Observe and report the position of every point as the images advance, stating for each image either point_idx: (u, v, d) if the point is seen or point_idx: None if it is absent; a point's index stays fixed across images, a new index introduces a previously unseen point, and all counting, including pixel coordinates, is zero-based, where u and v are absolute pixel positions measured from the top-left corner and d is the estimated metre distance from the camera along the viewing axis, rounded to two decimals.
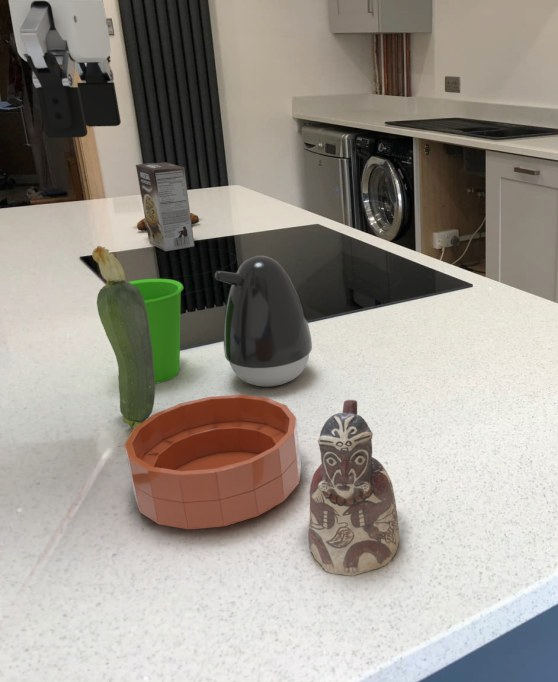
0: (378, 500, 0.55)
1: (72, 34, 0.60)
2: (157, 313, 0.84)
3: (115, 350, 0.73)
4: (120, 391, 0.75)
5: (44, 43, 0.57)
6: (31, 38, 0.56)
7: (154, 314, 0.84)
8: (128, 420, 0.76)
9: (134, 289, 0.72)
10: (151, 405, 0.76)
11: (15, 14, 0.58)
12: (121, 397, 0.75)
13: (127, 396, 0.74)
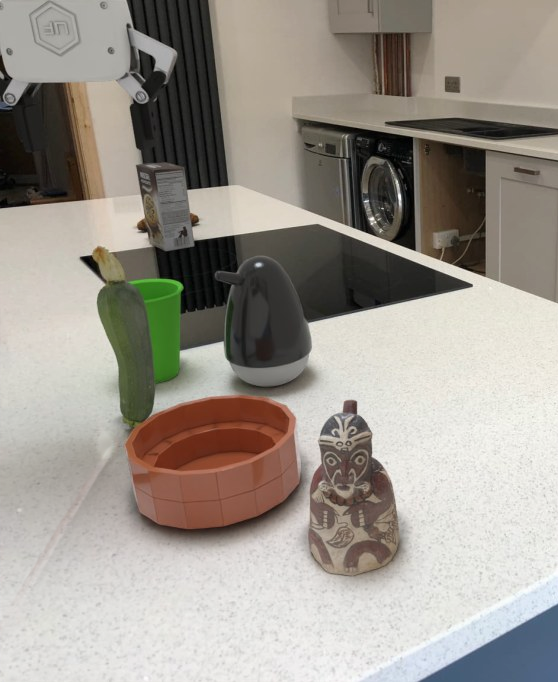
0: (378, 500, 0.55)
1: None
2: (157, 313, 0.84)
3: (115, 350, 0.73)
4: (120, 391, 0.75)
5: None
6: (175, 57, 0.65)
7: (154, 314, 0.84)
8: (128, 420, 0.76)
9: (134, 289, 0.72)
10: (151, 405, 0.76)
11: (121, 35, 0.62)
12: (121, 397, 0.75)
13: (127, 396, 0.74)
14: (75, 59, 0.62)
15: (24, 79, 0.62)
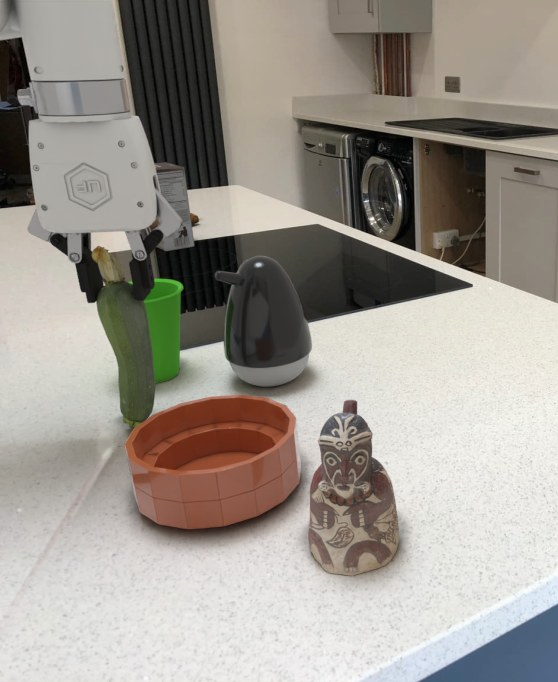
0: (378, 500, 0.55)
1: None
2: (157, 313, 0.84)
3: (115, 350, 0.73)
4: (120, 391, 0.75)
5: None
6: (179, 227, 0.70)
7: (154, 314, 0.84)
8: (128, 420, 0.76)
9: None
10: (151, 405, 0.76)
11: (149, 190, 0.67)
12: (121, 397, 0.75)
13: (127, 396, 0.74)
14: (106, 213, 0.66)
15: (58, 231, 0.67)
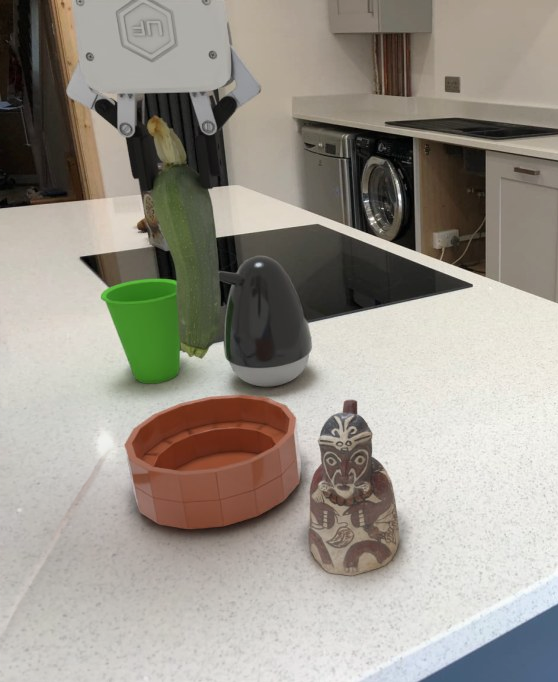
0: (378, 500, 0.55)
1: None
2: (157, 313, 0.84)
3: (174, 254, 0.58)
4: (179, 309, 0.60)
5: None
6: (257, 94, 0.56)
7: (154, 314, 0.84)
8: (189, 346, 0.61)
9: (198, 175, 0.57)
10: (216, 328, 0.61)
11: (224, 36, 0.52)
12: (180, 317, 0.60)
13: (188, 314, 0.60)
14: (169, 65, 0.51)
15: (106, 90, 0.52)
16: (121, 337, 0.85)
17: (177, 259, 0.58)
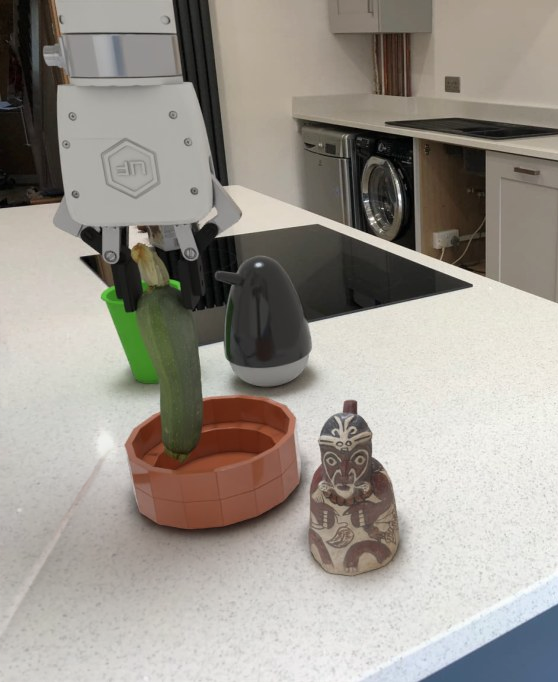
0: (378, 500, 0.55)
1: None
2: None
3: (157, 369, 0.60)
4: (162, 418, 0.62)
5: None
6: None
7: None
8: (171, 452, 0.63)
9: (181, 295, 0.59)
10: (199, 434, 0.64)
11: (205, 173, 0.54)
12: (163, 425, 0.62)
13: (171, 424, 0.62)
14: (152, 201, 0.53)
15: (91, 224, 0.54)
16: (121, 337, 0.85)
17: (160, 373, 0.60)
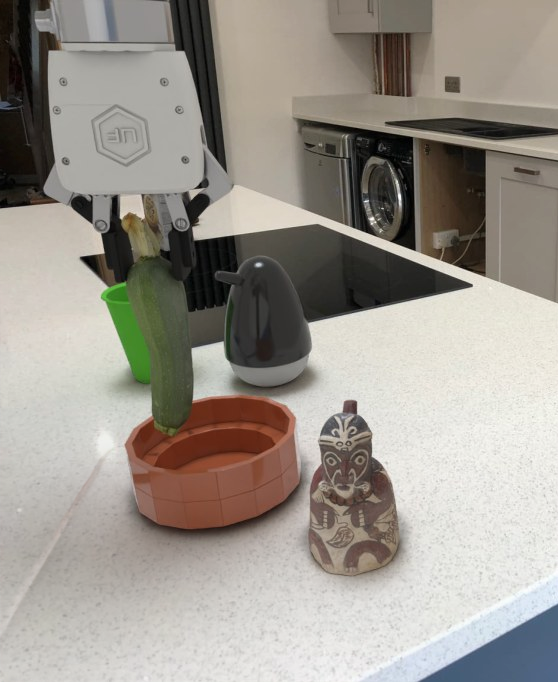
0: (378, 500, 0.55)
1: None
2: None
3: (147, 341, 0.60)
4: (152, 391, 0.62)
5: None
6: None
7: None
8: (161, 426, 0.63)
9: (171, 267, 0.59)
10: (189, 408, 0.63)
11: (196, 142, 0.54)
12: (153, 398, 0.62)
13: (161, 397, 0.61)
14: (143, 169, 0.53)
15: (82, 191, 0.53)
16: (121, 337, 0.85)
17: (150, 346, 0.60)
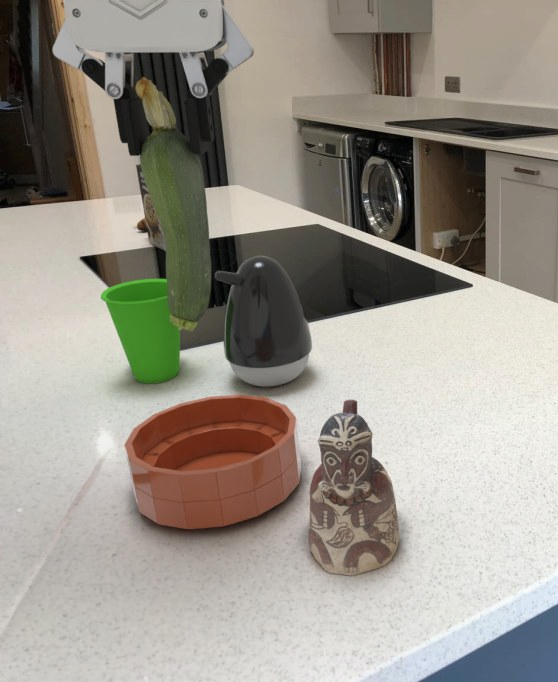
0: (378, 500, 0.55)
1: None
2: (157, 313, 0.84)
3: (163, 222, 0.56)
4: (168, 279, 0.58)
5: None
6: (249, 57, 0.54)
7: (154, 314, 0.84)
8: (178, 318, 0.59)
9: (188, 141, 0.55)
10: (206, 300, 0.60)
11: None
12: (169, 287, 0.59)
13: (177, 285, 0.58)
14: (159, 23, 0.50)
15: (93, 48, 0.50)
16: (121, 337, 0.85)
17: (166, 227, 0.56)
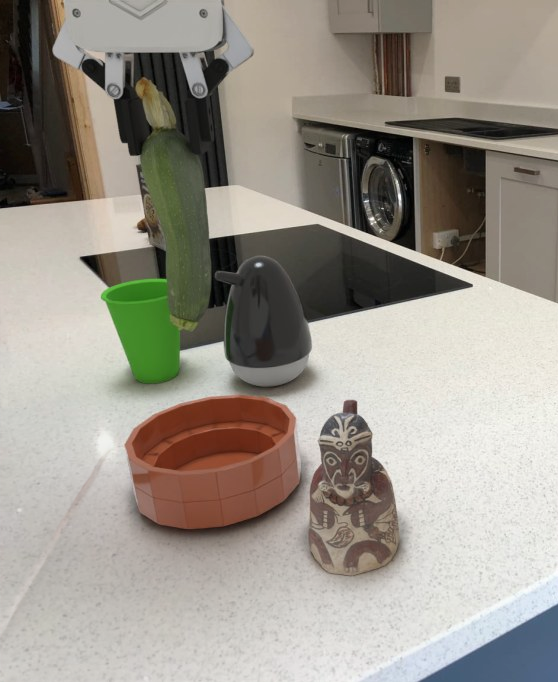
0: (378, 500, 0.55)
1: None
2: (157, 313, 0.84)
3: (163, 222, 0.56)
4: (168, 279, 0.58)
5: None
6: (249, 57, 0.54)
7: (154, 314, 0.84)
8: (178, 318, 0.59)
9: (188, 141, 0.55)
10: (207, 300, 0.60)
11: None
12: (169, 287, 0.59)
13: (177, 285, 0.58)
14: (159, 23, 0.50)
15: (93, 48, 0.50)
16: (121, 337, 0.85)
17: (166, 227, 0.56)
